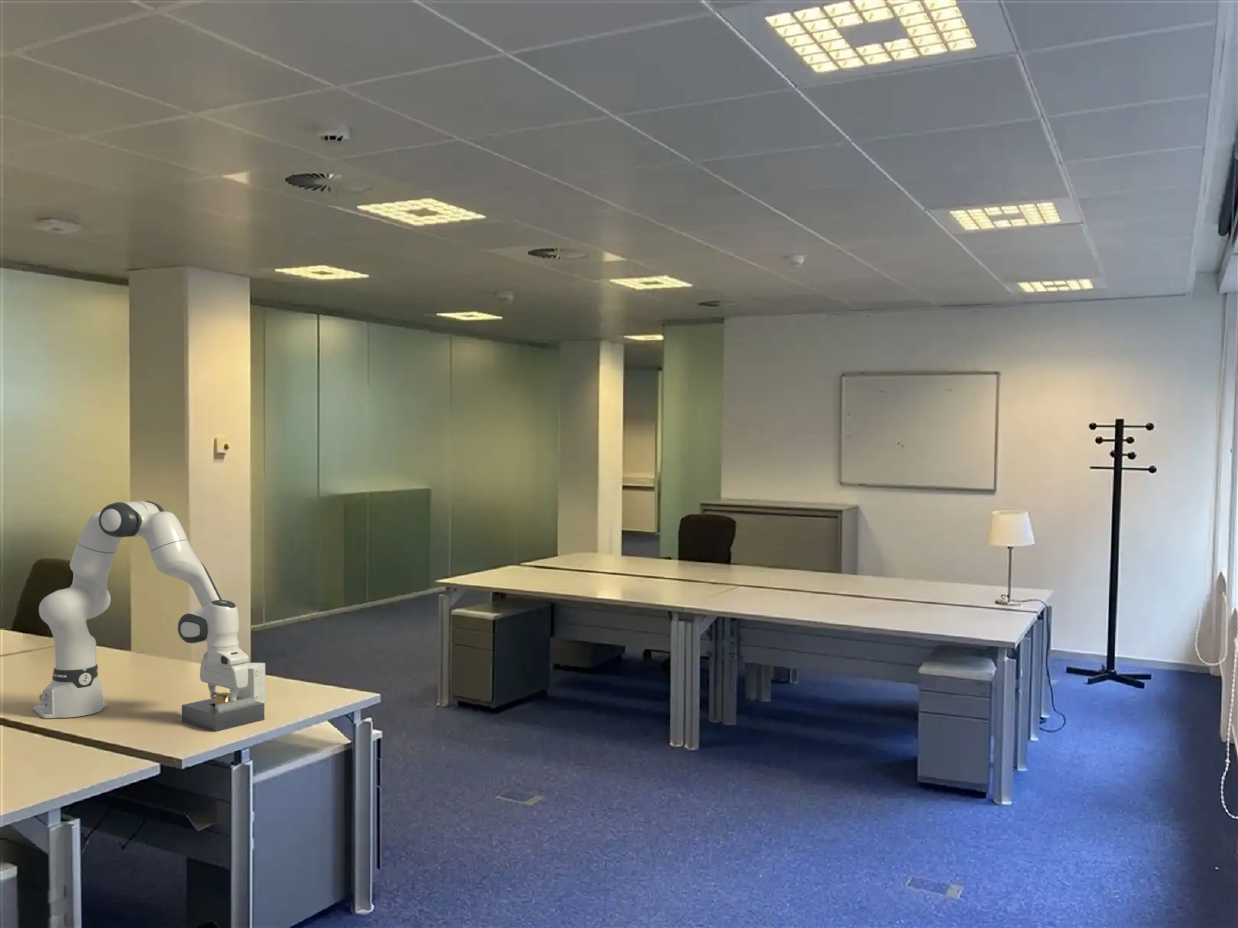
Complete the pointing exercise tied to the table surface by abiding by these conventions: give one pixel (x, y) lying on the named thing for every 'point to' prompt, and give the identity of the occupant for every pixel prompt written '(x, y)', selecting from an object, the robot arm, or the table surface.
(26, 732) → the table surface
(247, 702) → the jig
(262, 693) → the small box
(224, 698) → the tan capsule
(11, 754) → the table surface
